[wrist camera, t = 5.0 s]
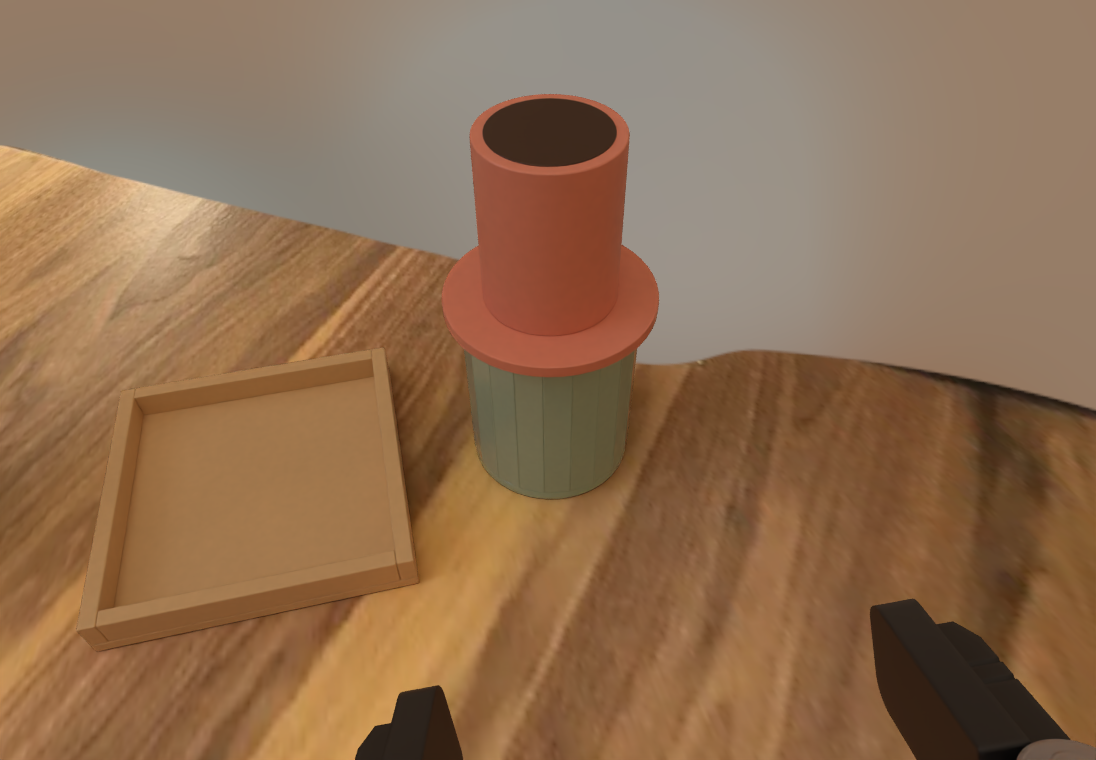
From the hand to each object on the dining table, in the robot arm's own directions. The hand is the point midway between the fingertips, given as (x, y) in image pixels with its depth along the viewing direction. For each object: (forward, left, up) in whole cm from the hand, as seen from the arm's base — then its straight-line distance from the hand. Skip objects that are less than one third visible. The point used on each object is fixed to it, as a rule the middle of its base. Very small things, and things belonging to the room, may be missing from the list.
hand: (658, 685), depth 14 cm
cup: (-13, +18, -20) cm, 30 cm away
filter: (-13, +18, -11) cm, 25 cm away
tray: (-24, +7, -20) cm, 32 cm away
